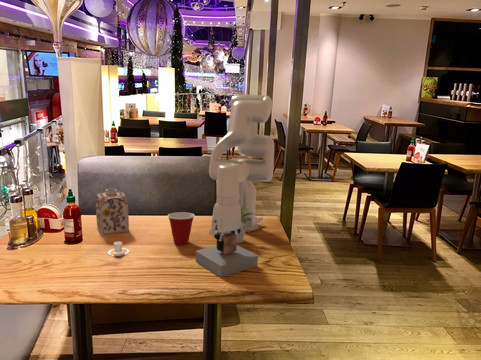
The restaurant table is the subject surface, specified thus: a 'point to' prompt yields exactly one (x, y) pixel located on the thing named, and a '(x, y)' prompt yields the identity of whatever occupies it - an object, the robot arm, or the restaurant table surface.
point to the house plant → (241, 234)
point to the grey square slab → (226, 260)
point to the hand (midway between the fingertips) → (226, 248)
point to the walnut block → (229, 242)
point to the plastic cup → (181, 226)
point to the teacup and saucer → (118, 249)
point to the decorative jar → (112, 212)
